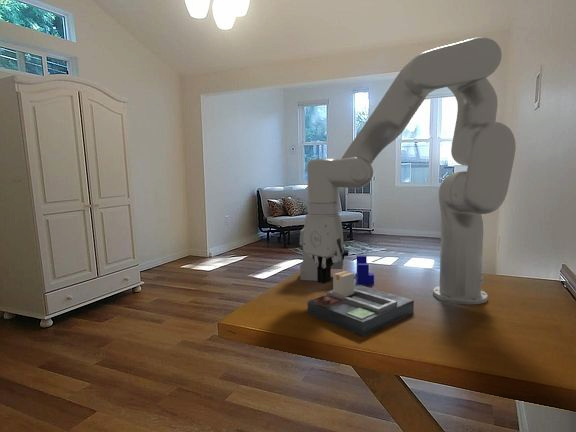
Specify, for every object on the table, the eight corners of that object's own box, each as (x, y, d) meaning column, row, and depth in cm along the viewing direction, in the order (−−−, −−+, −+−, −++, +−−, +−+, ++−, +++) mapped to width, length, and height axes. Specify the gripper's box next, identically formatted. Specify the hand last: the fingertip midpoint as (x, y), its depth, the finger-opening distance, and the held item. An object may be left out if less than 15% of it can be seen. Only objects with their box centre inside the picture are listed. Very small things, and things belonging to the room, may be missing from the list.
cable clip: (374, 285, 104) (374, 265, 103) (357, 285, 105) (358, 264, 104) (371, 274, 116) (371, 255, 115) (356, 273, 116) (356, 255, 116)
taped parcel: (344, 290, 89) (344, 270, 89) (354, 293, 87) (354, 272, 86) (333, 294, 87) (332, 273, 86) (342, 297, 84) (342, 276, 84)
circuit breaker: (347, 281, 108) (347, 231, 106) (300, 279, 110) (299, 231, 109) (348, 274, 115) (348, 227, 113) (304, 273, 118) (303, 227, 116)
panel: (358, 295, 95) (358, 280, 95) (413, 312, 83) (413, 295, 82) (307, 313, 84) (307, 297, 83) (363, 336, 71) (363, 317, 71)
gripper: (292, 209, 93) (293, 278, 95) (335, 213, 81) (335, 292, 83) (313, 206, 97) (314, 273, 100) (357, 210, 86) (357, 285, 88)
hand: (324, 281), depth 92 cm, fingers closed
